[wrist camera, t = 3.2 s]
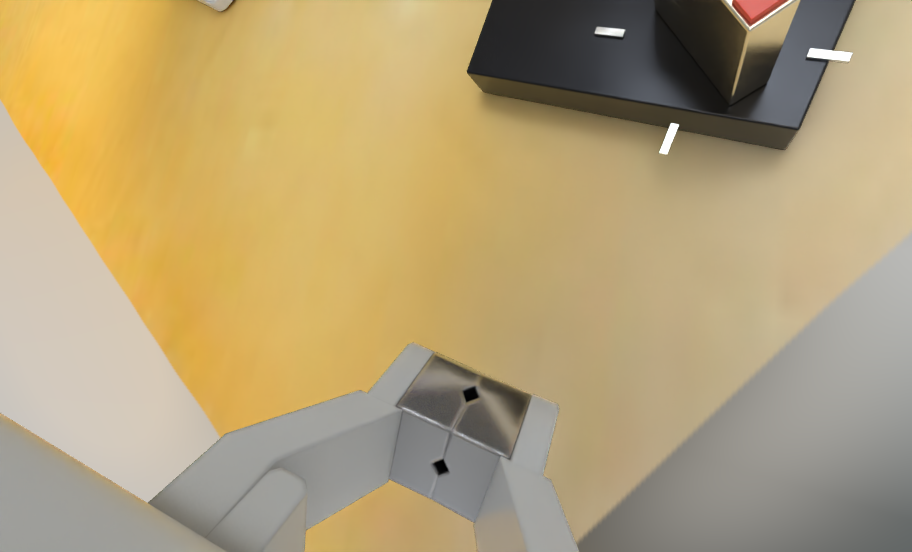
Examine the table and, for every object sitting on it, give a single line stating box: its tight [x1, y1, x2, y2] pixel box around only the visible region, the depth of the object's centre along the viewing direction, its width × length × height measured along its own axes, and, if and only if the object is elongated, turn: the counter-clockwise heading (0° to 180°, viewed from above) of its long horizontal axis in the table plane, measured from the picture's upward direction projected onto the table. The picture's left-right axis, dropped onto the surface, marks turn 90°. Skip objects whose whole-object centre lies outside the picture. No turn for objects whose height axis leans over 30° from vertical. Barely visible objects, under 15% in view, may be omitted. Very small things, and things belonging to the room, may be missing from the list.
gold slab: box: [654, 0, 800, 105], centre depth 17 cm, size 6×2×6 cm, turn 29°
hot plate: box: [467, 0, 856, 156], centre depth 22 cm, size 17×15×3 cm
